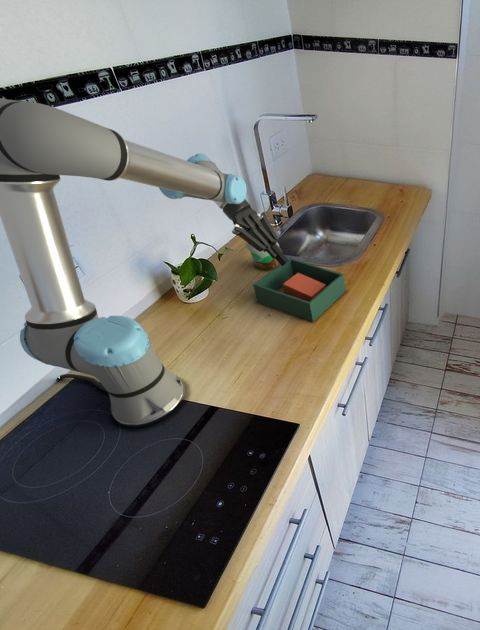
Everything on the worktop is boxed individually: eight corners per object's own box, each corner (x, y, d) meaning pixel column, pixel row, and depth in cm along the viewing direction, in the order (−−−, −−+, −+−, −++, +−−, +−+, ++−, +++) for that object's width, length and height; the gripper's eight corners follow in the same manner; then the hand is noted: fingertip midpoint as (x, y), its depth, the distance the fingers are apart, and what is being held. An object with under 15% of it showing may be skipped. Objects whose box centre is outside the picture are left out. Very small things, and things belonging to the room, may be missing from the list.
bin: (257, 302, 128) (252, 284, 123) (293, 274, 140) (290, 257, 136) (313, 322, 121) (309, 304, 116) (345, 291, 134) (343, 274, 129)
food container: (244, 268, 143) (237, 243, 136) (254, 259, 147) (248, 235, 141) (274, 274, 140) (268, 250, 134) (283, 265, 145) (278, 241, 138)
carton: (282, 283, 125) (311, 296, 123) (298, 272, 130) (325, 284, 128) (284, 295, 128) (312, 308, 126) (299, 284, 134) (326, 296, 131)
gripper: (243, 201, 126) (294, 259, 132) (210, 217, 117) (266, 278, 122) (252, 188, 121) (304, 249, 127) (218, 203, 112) (276, 268, 117)
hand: (285, 263), depth 124 cm, fingers closed
